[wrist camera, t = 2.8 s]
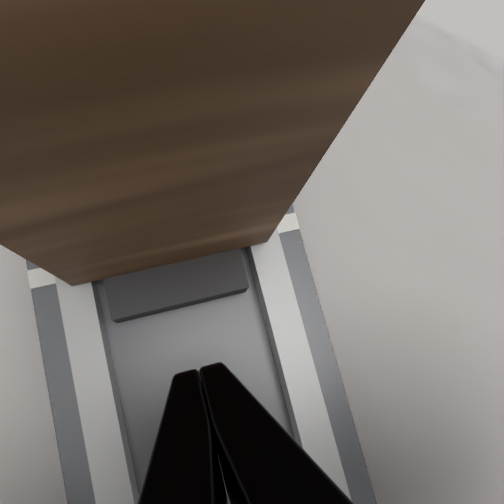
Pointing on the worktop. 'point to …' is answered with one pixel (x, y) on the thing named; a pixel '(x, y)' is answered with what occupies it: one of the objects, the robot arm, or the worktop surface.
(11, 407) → the worktop surface
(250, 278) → the fader track
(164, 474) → the robot arm
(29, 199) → the fader handle
